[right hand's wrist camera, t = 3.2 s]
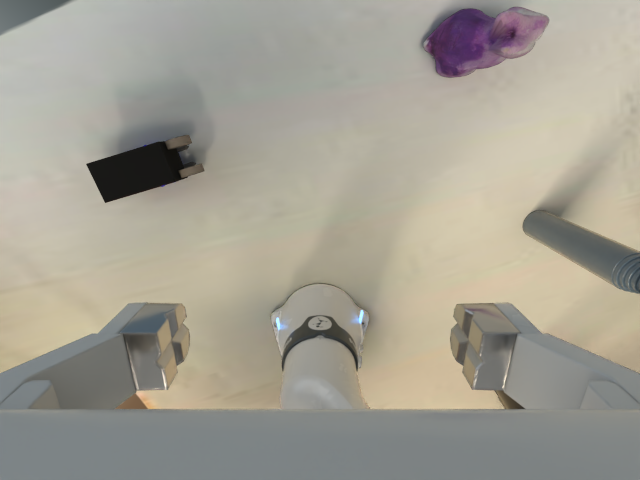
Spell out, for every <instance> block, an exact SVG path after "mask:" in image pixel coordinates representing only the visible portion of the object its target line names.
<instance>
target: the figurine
mask: <svg viewBox="0 0 640 480" xmlns="http://www.w3.org/2000/svg"><path fill="white" fill-rule="evenodd" d="M548 23H549V18H548V17H547V16H546V15H543V14H541V13H537V12H534V11H531V10H528V9H525V8H522V7H513V8H510V9H508V10H507V11H504V12H502V13H500V14H499V15H498V16H497V17H496V18H492V17H489V16H487V15H485V14H484V13H483V12H482V11H480V10H477V9H471V8H470V9H463V10H460V11H458V12H456V13H455V14H453V15H452V16H450V17H449V18H447V19H446V20H445V21H443V22H442V23H441V24H440V25H439V27H438V28H437V29H436V30H435V31H434V32H433V33H432V34H431V35H430V36H429V37H428V38H427V39H426V40H425V42H424V44H423V47H424V49H425V51H427V52H428V53H430V54H431V55H432V56H433V57H434V58H435V61H436V71H437V73H438V74H439V75H441V76H443V77H461V76H465V75H469V74H471V73H472V72H474V71H475V70H476V69H483V68H488V67H492V66H494V65H497V64H499V63H501V62H503V61H504V60H505V59H506V58H510V59H513V58H518V57H521V56H523V55H525V54H527V53H528V52H530V51H531V50H532V48H533V47H534V45H535V42H536V41H537V40H538V39H539V38H540V37H541V36H542V34H543V32H544V30H545V28H546V27H547V25H548Z"/></svg>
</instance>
